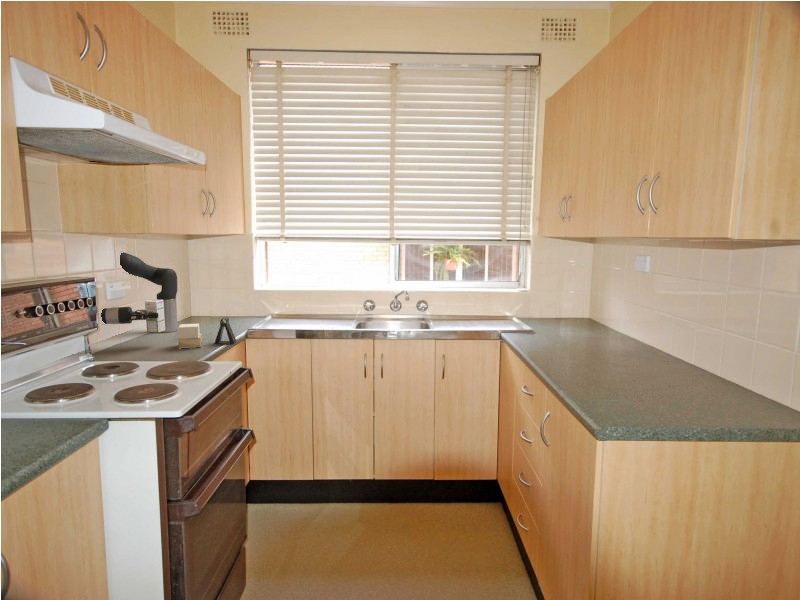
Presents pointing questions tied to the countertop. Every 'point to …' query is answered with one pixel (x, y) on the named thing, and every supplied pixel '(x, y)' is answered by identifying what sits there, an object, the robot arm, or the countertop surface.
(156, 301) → the syrup box
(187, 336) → the tower top block
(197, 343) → the tower base block
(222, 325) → the dark grey triangular frame
